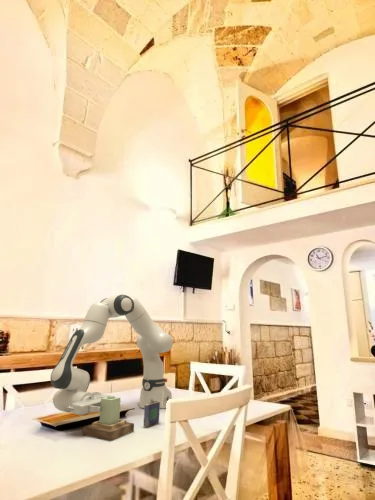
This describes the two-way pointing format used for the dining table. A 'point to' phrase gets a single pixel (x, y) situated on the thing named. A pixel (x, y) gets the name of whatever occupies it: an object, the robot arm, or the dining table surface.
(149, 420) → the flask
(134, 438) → the dining table surface
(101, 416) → the pillar
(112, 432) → the base
